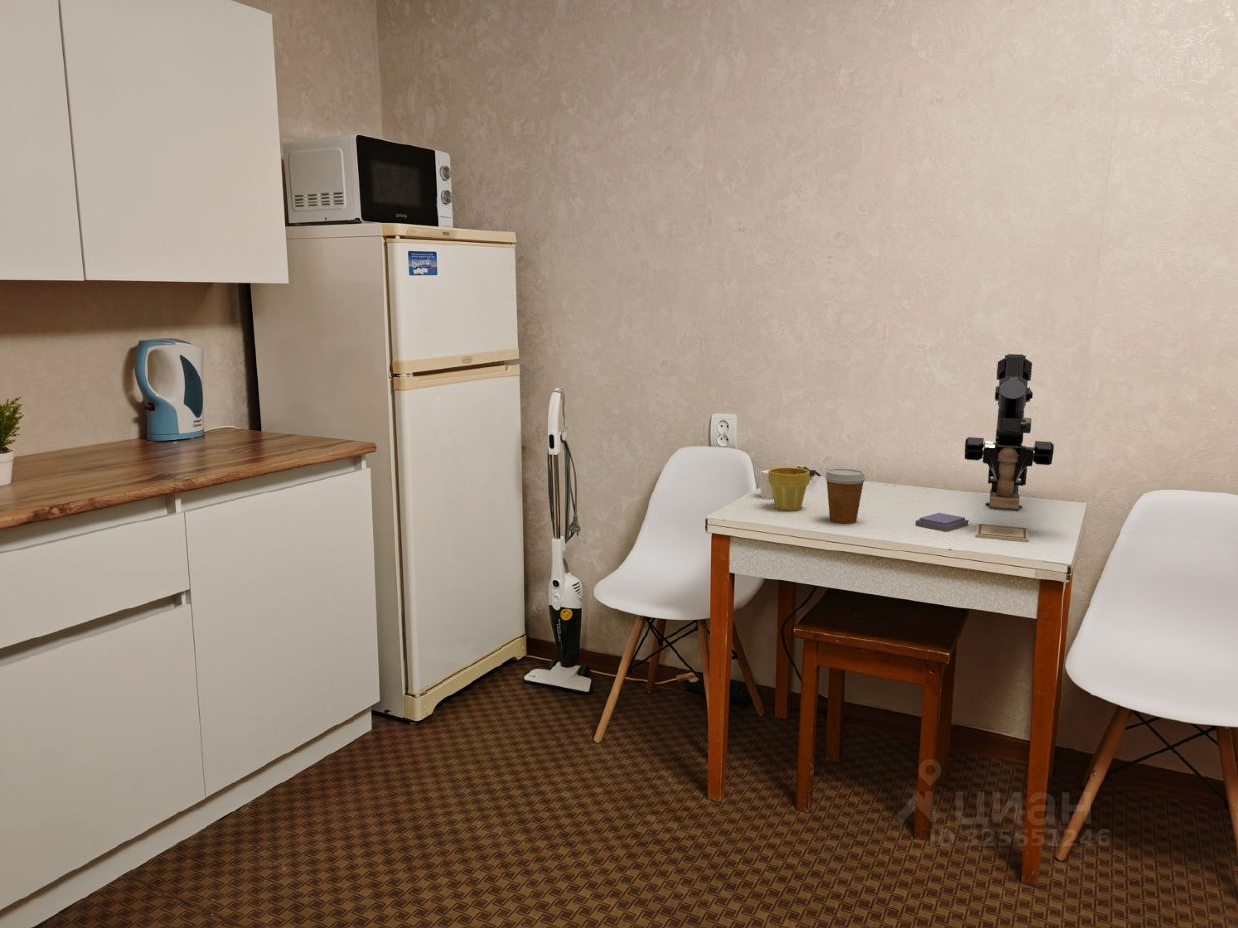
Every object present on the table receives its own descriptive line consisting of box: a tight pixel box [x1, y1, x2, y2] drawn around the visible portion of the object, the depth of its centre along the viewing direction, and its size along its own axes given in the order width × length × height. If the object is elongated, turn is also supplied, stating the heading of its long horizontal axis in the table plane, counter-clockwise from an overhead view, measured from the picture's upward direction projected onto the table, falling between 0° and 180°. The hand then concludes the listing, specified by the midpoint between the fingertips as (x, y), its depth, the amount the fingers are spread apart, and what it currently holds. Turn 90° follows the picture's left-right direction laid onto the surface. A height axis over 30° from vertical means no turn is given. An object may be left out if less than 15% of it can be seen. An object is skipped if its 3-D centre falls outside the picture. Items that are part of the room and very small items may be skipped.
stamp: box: [989, 447, 1020, 512], centre depth 213 cm, size 6×6×14 cm
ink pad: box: [915, 512, 970, 532], centre depth 222 cm, size 10×8×2 cm
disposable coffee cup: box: [824, 468, 866, 525], centre depth 226 cm, size 10×10×12 cm
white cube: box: [759, 469, 774, 500], centre depth 253 cm, size 7×7×7 cm
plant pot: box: [768, 466, 811, 512], centre depth 239 cm, size 10×10×10 cm
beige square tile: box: [975, 523, 1030, 543], centre depth 215 cm, size 11×11×1 cm
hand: (1006, 480), depth 211 cm, fingers closed on stamp, 3 cm apart
